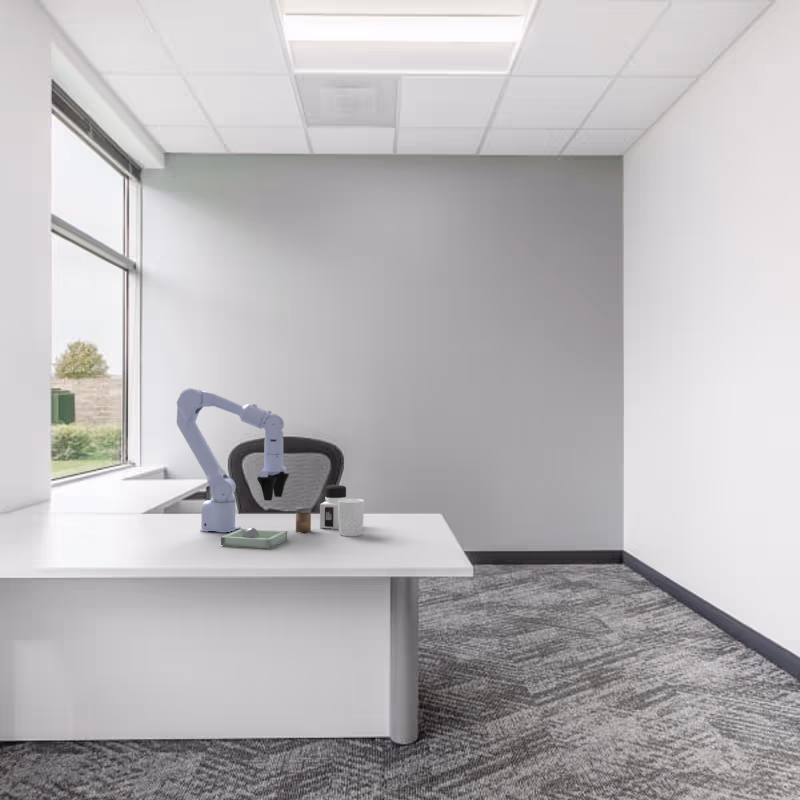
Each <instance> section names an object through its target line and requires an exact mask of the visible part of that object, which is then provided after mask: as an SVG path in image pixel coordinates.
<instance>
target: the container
mask: <svg viewBox="0 0 800 800" xmlns="http://www.w3.org/2000/svg"><path fill="white" fill-rule="evenodd" d="M324 490H325V491H324V498H325V499H324V501H323V502H322V503H320V505H319V528H320V529H323V528H331V529H330V530H339V524H338V500H340V499H347V487H346V486H345V485H342V484H329V485H326V487H325V489H324Z"/></svg>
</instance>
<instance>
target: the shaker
mask: <svg viewBox="0 0 800 800" xmlns="http://www.w3.org/2000/svg"><path fill="white" fill-rule="evenodd" d="M311 514H312V507H310V506H297V507H295V532H296V533H298V532H302V533H301V534H304V533H303V532H307V533H310V532H311V530H312V528H311V526H312V525H311V524H312V519H311V518H312V517H311V516H312V515H311Z"/></svg>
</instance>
